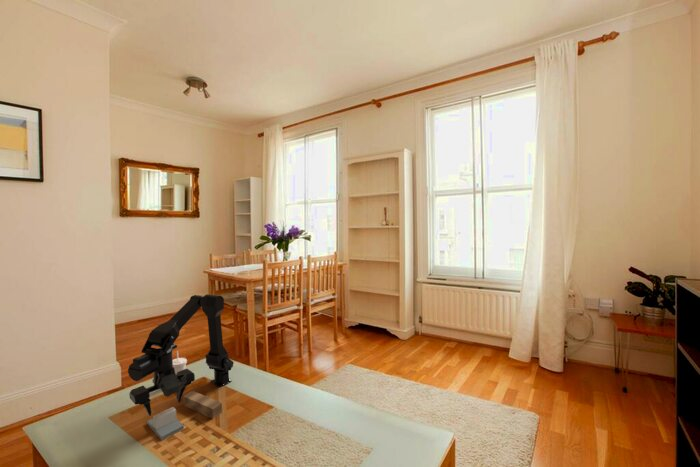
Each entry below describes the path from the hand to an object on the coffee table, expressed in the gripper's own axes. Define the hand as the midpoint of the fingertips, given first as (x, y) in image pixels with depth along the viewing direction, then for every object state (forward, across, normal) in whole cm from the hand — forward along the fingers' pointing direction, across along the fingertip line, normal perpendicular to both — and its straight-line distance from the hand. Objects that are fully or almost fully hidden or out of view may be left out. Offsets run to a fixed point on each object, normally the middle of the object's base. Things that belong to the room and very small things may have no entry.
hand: (164, 408), depth 109 cm
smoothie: (+7, +15, +24) cm, 29 cm away
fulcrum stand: (+6, 0, 0) cm, 6 cm away
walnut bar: (+7, +13, 0) cm, 15 cm away
